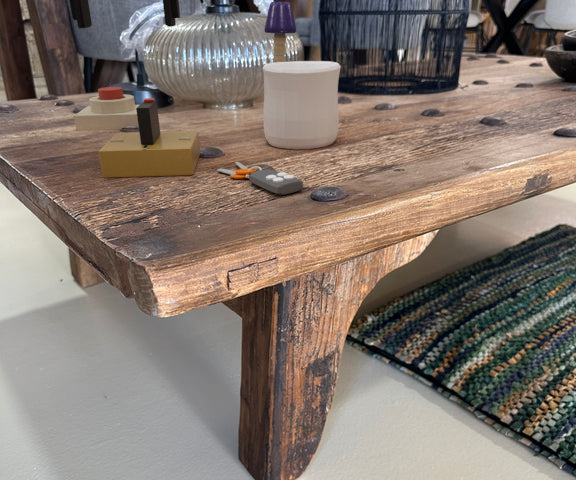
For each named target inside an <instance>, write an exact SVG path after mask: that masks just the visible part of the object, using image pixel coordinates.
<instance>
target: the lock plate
mask: <svg viewBox="0 0 576 480" xmlns="http://www.w3.org/2000/svg"><path fill="white" fill-rule="evenodd" d="M199 135H200V134H199V130H174V131H172V130H171V131H169V130H168V131H160V136H159V137H158V139H157V140H156V141H155V143H154V144H153V145H141V140H140V133H139V131H138V132H137V131H135V132H116V133H114V135H113V136H112V137H110V139H108V141H107V142H106V143H105V144H104V145H103V146H102V147H100V149H99V150H98V153H97V154H98V157H99V165H100V169H101V175H102V178H104V179H107V178H109V179H112V178H113V179H114V178H139V177H140V178H141V177H173V176H174V177H175V176H178V177H179V176H194V174H195V171H196V169H197V168H196V167H197V166H198V165H197V164H198V162H199V159H200V157H201V147H200V137H199Z"/></svg>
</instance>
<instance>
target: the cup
mask: <svg viewBox="0 0 576 480" xmlns="http://www.w3.org/2000/svg"><path fill="white" fill-rule="evenodd" d="M341 68H342V66H341V64H340V63H338V62H335V61H329V60H326V61H325V60H297V61H286V62H275V63H274V62H268V63H266V64H264V65H263V66H262V72H263V93H264V96H263V110H262V116H263V117H262V118H263V119H262V120H263V133H264V137H265V139H266V141H267V143H268V144H269V145H270V146H272V147H276V148H279V149H286V150H311V149H318V148H319V149H320V148H323V147H327V146H330V145H332V144H333V143H334V142H335V141H336V139H337V137H338V133H339V124H340V123H339V122H340V121H339V118H340V112H339V111H340V110H339V95H338V94H339V92H338V91H339V80H340V72H341Z"/></svg>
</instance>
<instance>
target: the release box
mask: <svg viewBox="0 0 576 480" xmlns="http://www.w3.org/2000/svg"><path fill="white" fill-rule="evenodd" d="M123 96H124V98H122V99H116V100H100V99H99V95H97V96H92V97H90V98H89V99H88V104H89V105H87V106H86V107H84V108H83V109H82V110H80V111H79V112H77V113H75V114H74V115H73V120H74V127H75V131H106V130H107V131H110V130H123V129H122V128H124V127H127V126H137V127H139V126H138V118H137V111H136V108H137V107H138V106H139V105H140V104H136V101H135V96H134V95H131V94H125V93H123Z"/></svg>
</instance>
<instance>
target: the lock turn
mask: <svg viewBox="0 0 576 480" xmlns="http://www.w3.org/2000/svg"><path fill="white" fill-rule="evenodd" d="M157 101H158V100H156V99H155V97H149V98H147V97H145V98H144V99H143V102H141V103H140V104H138V105H139V106H138V107H137V108H136V111H137V118H138V126H139V129H138V132H139V133H140V140H141V145H153V144H154V143H155V141H156V140H157V139H158V137H159V136H160V132H161V127H160V118H159V110H158V109H159V108H158V102H157Z"/></svg>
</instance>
